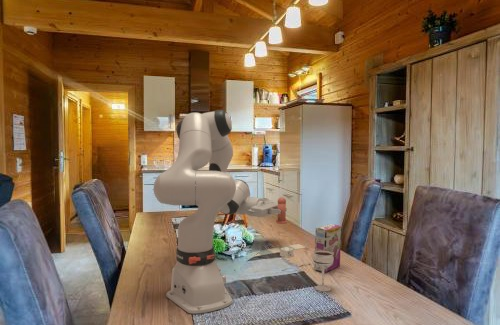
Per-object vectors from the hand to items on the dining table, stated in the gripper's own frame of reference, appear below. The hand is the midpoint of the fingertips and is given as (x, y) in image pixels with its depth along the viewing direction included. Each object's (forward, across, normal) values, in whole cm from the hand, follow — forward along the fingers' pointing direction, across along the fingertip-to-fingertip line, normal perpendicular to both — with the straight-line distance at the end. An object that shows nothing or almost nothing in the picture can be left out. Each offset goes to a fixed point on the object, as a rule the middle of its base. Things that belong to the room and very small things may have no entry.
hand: (283, 210), depth 150 cm
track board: (-2, -4, +18) cm, 19 cm away
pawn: (-1, 0, +6) cm, 6 cm away
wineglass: (+29, -28, +18) cm, 44 cm away
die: (+6, -8, +18) cm, 21 cm away
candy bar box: (+24, -10, +18) cm, 32 cm away
